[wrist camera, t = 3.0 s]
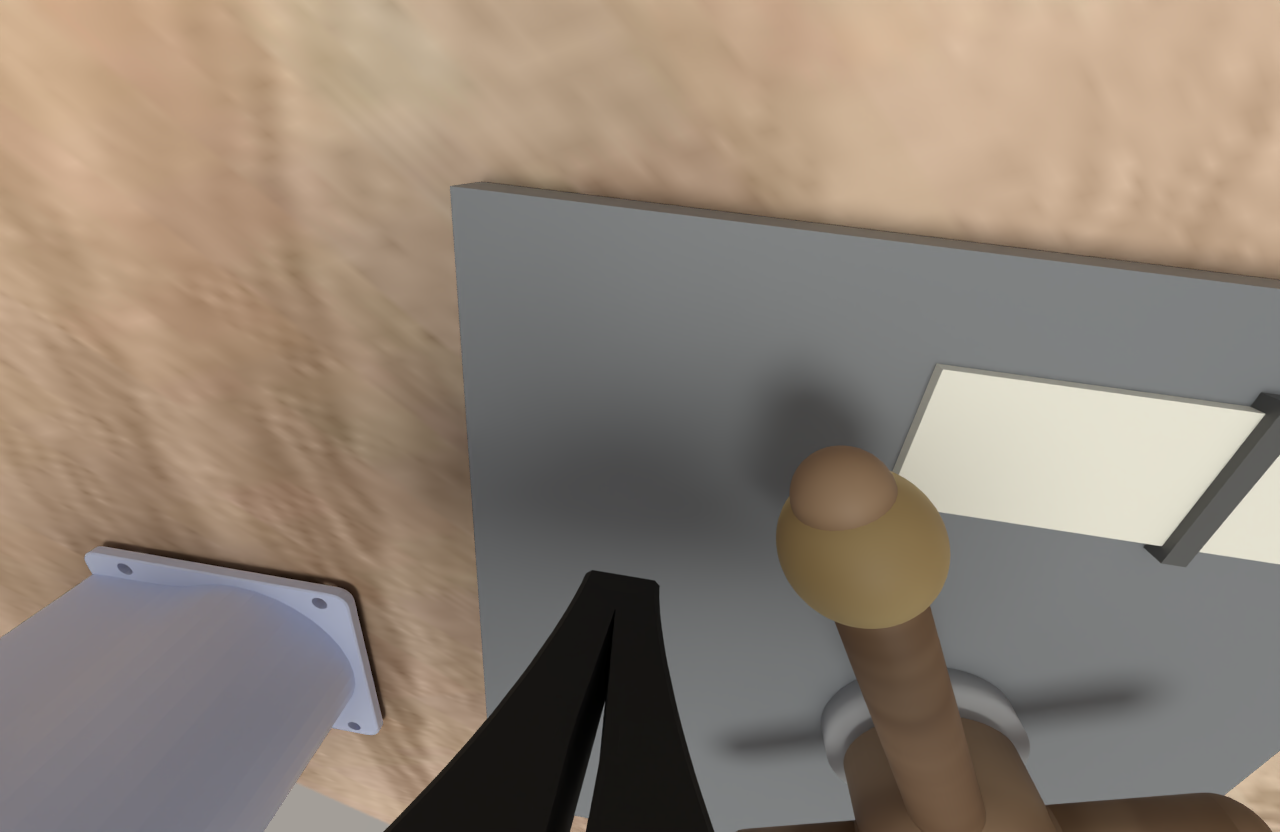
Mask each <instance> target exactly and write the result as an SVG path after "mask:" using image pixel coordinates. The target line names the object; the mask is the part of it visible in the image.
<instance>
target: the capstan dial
mask: <svg viewBox="0 0 1280 832" xmlns="http://www.w3.org/2000/svg"><path fill="white" fill-rule="evenodd" d="M776 547H777V554H778V558H779V561H780V565H781V568H782V570H783V572H784V574H785V576H786V578H787V580H788V582H789V583H790V585H791V586H792V588H793V589H794V590H795V592H796V593H797V594H798V595H799V596H800V597H801V598H802V599H803V600H804V601H805V602H806V603H807V604H808V605H809V606H810V607H811V608H813V609H814V610H815V611H817V612H818V613H820V614H821V615H823V616H825V617H826V618H828V619H831V620H833V621H834V622H835V624H836V627H837V629H838V632H839V635H840V637H841V640H842V642H843V645H844V648H845V650H846V653H847V655H848V658H849V661H850V663H851V666H852V668H853V671H854V674H855V676H856V679H857V682H858V684H859V687H860V689H861V692H862V695H863V697H864V700H865V702H866V705H867V708H868V710H869V713H870V715H871V718H872V721H873V723H874V726H875V727H873V728H871V729H869V730H868V731H866V732H864V733H863V734H861V735H860V736H859V737H858V738H856V739H855V740H854V741H853V742H852V743H851V745H850V746H849V748H848V749H847V751H846V753H845V756H844V762H843V763H844V771H845V775H846V780H847V785H848V789H849V794H850V798H851V803H852V807H853V812H854V817H855V820H849V821H837V822H824V823H812V824H799V825H786V826H774V827H761V828H749V829H741V830H738V831H736V832H1272V831H1271V829H1270V828H1269V827H1268V825H1267V824H1266V823H1265V822H1264V821H1263V820H1262V819H1261V818H1260V817H1259V816H1258V815H1257V814H1255V813H1254V812H1253V811H1252V810H1250V809H1249V808H1247V807H1246V806H1244V805H1243V804H1241V803H1239V802H1237V801H1235V800H1233V799H1231V798H1229V797H1226V796H1223V795H1220V794H1215V793H1189V794H1176V795H1164V796H1151V797H1139V798H1126V799H1113V800H1101V801H1088V802H1076V803H1063V804H1050V805H1045V804H1044V802H1043V800H1042V798H1041V796H1040V794H1039V792H1038V790H1037V788H1036V786H1035V784H1034V782H1033V780H1032V779H1031V777H1030V775H1029V773H1028V771H1027V769H1026V767H1025V765H1024V763H1023V761H1022V759H1021V757H1020V755H1019V753H1018V751H1017V749H1016V748H1015V746H1014V745H1013V743H1012V742H1011V741H1010V740H1009V739H1008V738H1007V737H1006V736H1005V735H1004V734H1002V733H1001V732H999V731H998V730H996V729H994V728H992V727H990V726H988V725H986V724H983V723H980V722H977V721H974V720H970V719H966V718H961V717H960V714H959V710H958V707H957V703H956V699H955V695H954V692H953V688H952V684H951V681H950V677H949V673H948V670H947V666H946V662H945V659H944V655H943V651H942V648H941V644H940V640H939V637H938V633H937V629H936V626H935V622H934V618H933V615H932V611H931V607H930V605H931V604H932V602H933V601H934V600H935V599H936V598H937V596H938V595H939V593H940V592H941V590H942V588H943V585H944V583H945V581H946V578H947V575H948V571H949V565H950V544H949V537H948V534H947V530H946V527H945V524H944V522H943V520H942V518H941V516H940V514H939V512H938V511H937V509H936V507H935V506H934V505H933V503H932V502H931V501H930V500H929V498H928V497H927V496H926V495H925V494H924V493H923V492H922V491H921V490H920V489H919V488H917V487H916V486H915V485H914V484H913V483H911V482H910V481H908V480H907V479H905V478H904V477H902V476H900V475H898V474H896V473H894V472H892V471H889V469H888V468H887V467H886V465H885V464H884V463H883V462H882V461H881V460H879V459H878V458H877V457H876V456H874V455H873V454H871V453H869V452H867V451H865V450H862V449H860V448H857V447H852V446H843V445H837V446H830V447H826V448H823V449H820V450H818V451H816V452H814V453H812V454H811V455H809V456H808V457H807V458H806V459H805V460H803V461H802V462H801V464H800V465H799V466H798V468H797V469H796V471H795V473H794V475H793V477H792V481H791V484H790V492H789V497H788V499H787V500H786V502H785V504H784V505H783V508H782V511H781V513H780V516H779V519H778V523H777V530H776Z"/></svg>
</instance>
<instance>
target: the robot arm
mask: <svg viewBox="0 0 1280 832" xmlns="http://www.w3.org/2000/svg"><path fill="white" fill-rule="evenodd" d="M85 562H86V564H87V565H88V567H89V569H90V571H91V573H92V574H93V575H91V576H90V577H88V578H87V579H85V580H84V581H82V582H81V583H79V584H78V585H76V586H75V587H74V588H72V589H71V590H69V591H68V592H66V593H65V594H63V595H62V596H60V597H59V598H58V599H56V600H55V601H53V602H52V603H50V604H49V605H47V606H46V607H44V608H43V609H42V610H40V611H39V612H37V613H36V614H34V615H33V616H31V617H30V618H28V619H27V620H26V621H24V622H23V623H21V624H20V625H18V626H17V627H15V628H14V629H12V630H11V631H10V632H8V633H7V634H5V635H4V636H2V637H1V638H0V832H264V830H265V829H266V827H267V826H268V824H269V822H270V821H271V820H272V818H273V817H274V815H275V814H276V812H277V810H278V809H279V807H280V806H281V804H282V803H283V801H284V800H285V798H286V797H287V795H288V794H289V792H290V791H291V789H292V787H293V786H294V784H295V783H296V781H297V780H298V778H299V777H300V775H301V774H302V772H303V771H304V769H305V768H306V766H307V765H308V763H309V762H310V760H311V758H312V757H313V755H314V754H315V752H316V751H317V749H318V748H319V746H320V745H321V743H322V742H323V740H324V739H325V737H326V736H327V734H328V732H329V731H330V729H331V728H335V729H340V730H345V731H350V732H356V733H361V734H366V735H374V734H377V733H378V732H379V730H380V729H381V727H382V725H383V719H382V715H381V711H380V707H379V702H378V698H377V694H376V690H375V685H374V681H373V677H372V673H371V668H370V664H369V660H368V656H367V651H366V647H365V643H364V639H363V634H362V630H361V626H360V622H359V617H358V613H357V609H356V605H355V600H354V598H353V596H352V594H351V593H350V592H348V591H347V590H345V589H343V588H340V587H335V586H329V585H323V584H317V583H312V582H306V581H300V580H295V579H289V578H283V577H277V576H272V575H266V574H260V573H254V572H249V571H243V570H237V569H231V568H226V567H220V566H214V565H208V564H203V563H197V562H191V561H185V560H180V559H174V558H168V557H162V556H157V555H151V554H145V553H139V552H134V551H128V550H122V549H116V548H111V547H105V546H98V547H96V548H94V549H93V550H91V551H89V552H88V553H86V554H85ZM659 590H660V586H659V585H658V583H657V582H656V581H655V580H650V579H644V578H638V577H632V576H626V575H620V574H614V573H608V572H602V571H596V570H591V571H589V572H587V573H586V574H585V576H584V578H583V580H582V583H581V585H580V586H579V588H578V590H577V592H576V594H575V596H574V597H573V599H572V601H571V603H570V604H569V606H568V608H567V609H566V611H565V613H564V614H563V616H562V617H561V619H560V621H559V622H558V624H557V625H556V627H555V628H554V630H553V631H552V633H551V634H550V636H549V637H548V639H547V640H546V641H545V643H544V644H543V646H542V647H541V649H540V650H539V652H538V653H537V654H536V656H535V657H534V659H533V660H532V662H531V663H530V664H529V666H528V667H527V669H526V670H525V671H524V673H523V674H522V675H521V676H520V678H519V679H518V680H517V682H516V683H515V684H514V685H513V687H512V688H511V689H510V691H509V692H508V693H507V694H506V696H505V697H504V698H503V700H502V701H501V702H500V703H499V705H498V706H497V707H496V709H495V710H494V711H493V712H492V714H491V715H490V716H489V717H488V718H487V720H486V721H485V722H484V723H483V724H482V726H481V727H480V728H479V729H478V730H477V732H476V733H475V734H474V735H473V736H472V737H471V739H470V740H469V741H468V742H467V743H466V744H465V745H464V747H463V748H462V749H461V750H460V751H459V752H458V753H457V754H456V756H455V757H454V758H453V759H452V760H451V761H450V762H449V763H448V765H447V766H446V767H445V768H444V769H443V770H442V771H441V772H440V773H439V774H438V776H437V777H436V778H435V779H434V780H433V781H432V782H431V783H430V784H429V785H428V786H427V787H426V788H425V789H424V790H423V791H422V792H421V793H420V794H419V796H418V797H417V798H416V799H415V800H414V801H413V802H412V803H411V804H410V805H409V806H408V807H407V808H406V809H405V810H404V811H403V812H402V813H401V814H400V815H399V817H398V818H397V819H396V820H395V821H394V822H393V823H392V824H391V825H390V826H389V827H388V828H387V829H386V830H385V831H384V832H570V829H571V826H572V822H573V818H574V814H575V811H576V807H577V803H578V800H579V796H580V792H581V789H582V785H583V781H584V777H585V774H586V770H587V766H588V763H589V759H590V755H591V752H592V748H593V744H594V740H595V737H596V733H597V729H598V726H599V722H600V718H601V714H602V711H603V707H604V717H603V727H602V737H601V747H600V757H599V765H598V770H597V776H596V781H595V786H594V792H593V797H592V802H591V808H590V813H589V818H588V823H587V829H586V832H714V829H713V826H712V823H711V820H710V817H709V814H708V811H707V808H706V805H705V802H704V799H703V796H702V793H701V790H700V787H699V784H698V780H697V777H696V774H695V771H694V767H693V764H692V760H691V757H690V754H689V750H688V746H687V743H686V739H685V735H684V732H683V728H682V724H681V721H680V717H679V713H678V708H677V704H676V700H675V696H674V691H673V686H672V682H671V677H670V673H669V668H668V663H667V657H666V652H665V646H664V639H663V632H662V625H661V616H660V599H659ZM604 703H605V706H604Z"/></svg>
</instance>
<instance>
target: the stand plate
mask: <svg viewBox="0 0 1280 832" xmlns="http://www.w3.org/2000/svg"><path fill="white" fill-rule="evenodd" d="M450 193H451V207H452V221H453V236H454V250H455V264H456V279H457V293H458V307H459V322H460V336H461V350H462V365H463V379H464V394H465V408H466V422H467V437H468V451H469V465H470V480H471V494H472V508H473V523H474V537H475V552H476V566H477V580H478V595H479V609H480V623H481V638H482V652H483V666H484V681H485V695H486V709H487V718H488V717H489V716H490V715H491V714H492V712H493V711H494V710H495V709H496V707H497V706H498V705H499V703H500V702H501V701H502V700H503V698H504V697H505V696H506V694H507V693H508V692H509V691H510V689H511V688H512V687H513V685H514V684H515V683H516V682H517V680H518V679H519V678H520V676H521V675H522V674H523V673H524V671H525V670H526V669H527V667H528V666H529V664H530V663H531V662H532V660H533V659H534V657H535V656H536V654H537V653H538V652H539V650H540V649H541V647H542V646H543V644H544V643H545V641H546V640H547V639H548V637H549V636H550V634H551V633H552V631H553V630H554V628H555V627H556V625H557V624H558V622H559V621H560V619H561V617H562V616H563V614H564V613H565V611H566V609H567V608H568V606H569V604H570V603H571V601H572V599H573V597H574V596H575V594H576V592H577V590H578V588H579V586H580V585H581V583H582V580H583V578H584V576H585V574H586V573H587V572H589V571H591V570H596V571H602V572H608V573H614V574H620V575H626V576H632V577H638V578H644V579H650V580H655V581H656V582H657V583H658V585H659V586H660V590H659V599H660V616H661V625H662V632H663V639H664V646H665V652H666V657H667V663H668V668H669V673H670V677H671V682H672V686H673V691H674V696H675V700H676V704H677V708H678V713H679V717H680V721H681V724H682V728H683V732H684V735H685V739H686V743H687V746H688V750H689V754H690V757H691V760H692V764H693V767H694V771H695V774H696V777H697V780H698V784H699V787H700V790H701V793H702V796H703V799H704V802H705V805H706V808H707V811H708V814H709V817H710V820H711V823H712V826H713V829H714V832H736V831H738V830H741V829H749V828H761V827H774V826H786V825H799V824H812V823H824V822H837V821H849V820H855V817H854V812H853V807H852V803H851V798H850V794H849V789H848V785H847V780H846V775H845V771H844V763H843V762H844V756H845V753H846V751H847V749H848V748H849V746H850V745H851V743H852V742H853V741H854V740H855V739H856V738H858V737H859V736H860V735H861V734H863V733H864V732H866V731H868V730H869V729H871V728H873V727H875V726H874V723H873V721H872V718H871V715H870V713H869V710H868V708H867V705H866V702H865V700H864V697H863V695H862V692H861V689H860V687H859V684H858V682H857V679H856V676H855V674H854V671H853V668H852V666H851V663H850V661H849V658H848V655H847V653H846V650H845V648H844V645H843V642H842V640H841V637H840V635H839V632H838V629H837V627H836V624H835V622H834V621H833V620H831V619H828V618H826V617H825V616H823V615H821V614H820V613H818V612H817V611H815V610H814V609H813V608H811V607H810V606H809V605H808V604H807V603H806V602H805V601H804V600H803V599H802V598H801V597H800V596H799V595H798V594H797V593H796V592H795V590H794V589H793V588H792V586H791V585H790V583H789V582H788V580H787V578H786V576H785V574H784V572H783V570H782V568H781V565H780V561H779V558H778V554H777V547H776V530H777V523H778V519H779V516H780V513H781V511H782V508H783V505H784V504H785V502H786V500H787V499H788V497H789V492H790V484H791V481H792V477H793V475H794V473H795V471H796V469H797V468H798V466H799V465H800V464H801V462H802V461H803V460H805V459H806V458H807V457H808V456H809V455H811V454H812V453H814V452H816V451H818V450H820V449H823V448H826V447H830V446H837V445H843V446H852V447H857V448H860V449H862V450H865V451H867V452H869V453H871V454H873V455H874V456H876V457H877V458H878V459H879V460H881V461H882V462H883V463H884V464H885V465H886V467H887V468H888V469H889V471H892V472H894V473H896V474H898V475H900V476H902V477H904V478H905V479H907V480H908V481H910V482H911V483H913V484H914V485H915V486H916V487H917V488H919V489H920V490H921V491H922V492H923V493H924V494H925V495H926V496H927V497H928V498H929V500H930V501H931V502H932V503H933V505H934V506H935V507H936V509H937V511H938V512H939V514H940V516H941V518H942V520H943V522H944V524H945V527H946V530H947V534H948V537H949V544H950V565H949V571H948V575H947V578H946V581H945V583H944V585H943V588H942V590H941V592H940V593H939V595H938V596H937V598H936V599H935V600H934V601H933V602H932V604H931V605H930V607H931V611H932V615H933V618H934V622H935V626H936V629H937V633H938V637H939V640H940V644H941V648H942V651H943V655H944V659H945V662H946V666H947V670H948V673H949V677H950V681H951V684H952V688H953V692H954V695H955V699H956V703H957V707H958V710H959V714H960V717H961V718H966V719H970V720H974V721H977V722H980V723H983V724H986V725H988V726H990V727H992V728H994V729H996V730H998V731H999V732H1001V733H1002V734H1004V735H1005V736H1006V737H1007V738H1008V739H1009V740H1010V741H1011V742H1012V743H1013V745H1014V746H1015V748H1016V749H1017V751H1018V753H1019V755H1020V757H1021V759H1022V761H1023V763H1024V765H1025V767H1026V769H1027V771H1028V773H1029V775H1030V777H1031V779H1032V780H1033V782H1034V784H1035V786H1036V788H1037V790H1038V792H1039V794H1040V796H1041V798H1042V800H1043V802H1044V804H1045V805H1050V804H1063V803H1076V802H1088V801H1101V800H1113V799H1126V798H1139V797H1151V796H1164V795H1176V794H1189V793H1215V794H1220V795H1223V796H1224V795H1225V794H1226V793H1228V792H1229V791H1230V790H1231V789H1233V788H1234V787H1235V786H1236V785H1238V784H1239V783H1240V782H1241V781H1243V780H1244V779H1245V778H1246V777H1248V776H1249V775H1250V774H1251V773H1253V772H1254V771H1255V770H1256V769H1258V768H1259V767H1260V766H1261V765H1263V764H1264V763H1265V762H1266V761H1268V760H1269V759H1270V758H1271V757H1273V756H1274V755H1275V754H1276V753H1278V752H1279V751H1280V280H1276V279H1268V278H1260V277H1252V276H1244V275H1236V274H1228V273H1219V272H1211V271H1203V270H1195V269H1187V268H1179V267H1171V266H1163V265H1155V264H1146V263H1138V262H1130V261H1122V260H1114V259H1106V258H1098V257H1090V256H1081V255H1073V254H1065V253H1057V252H1049V251H1041V250H1033V249H1025V248H1016V247H1008V246H1000V245H992V244H984V243H976V242H968V241H960V240H951V239H943V238H935V237H927V236H919V235H911V234H903V233H895V232H887V231H878V230H870V229H862V228H854V227H846V226H838V225H830V224H822V223H813V222H805V221H797V220H789V219H781V218H773V217H765V216H757V215H748V214H740V213H732V212H724V211H716V210H708V209H700V208H692V207H683V206H675V205H667V204H659V203H651V202H643V201H635V200H627V199H618V198H610V197H602V196H594V195H586V194H578V193H570V192H562V191H554V190H545V189H537V188H529V187H521V186H513V185H505V184H497V183H489V182H476V183H469V184H461V185H454V186H450ZM604 706H605V703H604ZM603 717H604V707H603V711H602V714H601V718H600V722H599V726H598V729H597V733H596V737H595V740H594V744H593V748H592V752H591V755H590V759H589V763H588V766H587V770H586V774H585V777H584V781H583V785H582V789H581V792H580V796H579V800H578V803H577V807H576V811H575V814H574V815H575V816H580V817H585V818H589V813H590V808H591V802H592V797H593V792H594V786H595V781H596V776H597V770H598V765H599V757H600V747H601V737H602V727H603Z"/></svg>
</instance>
